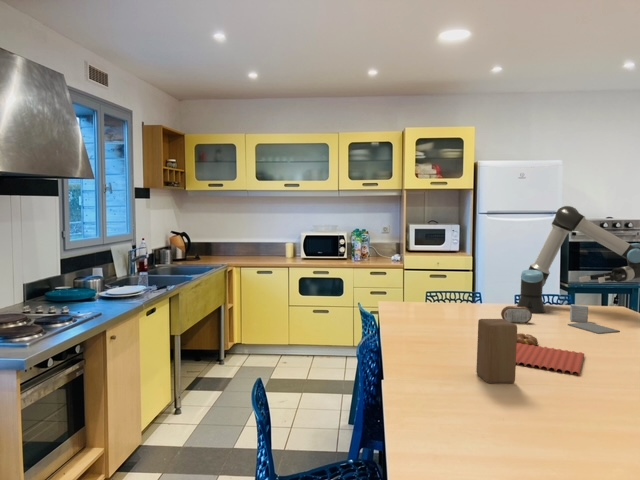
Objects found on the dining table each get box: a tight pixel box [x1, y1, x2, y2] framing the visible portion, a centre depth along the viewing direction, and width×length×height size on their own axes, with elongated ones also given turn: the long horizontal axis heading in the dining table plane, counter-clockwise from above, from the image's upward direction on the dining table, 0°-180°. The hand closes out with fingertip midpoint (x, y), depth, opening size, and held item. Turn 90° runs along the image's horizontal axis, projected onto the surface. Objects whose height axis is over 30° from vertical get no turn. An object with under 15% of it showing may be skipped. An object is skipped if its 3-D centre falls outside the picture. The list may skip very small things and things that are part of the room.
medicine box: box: [569, 304, 589, 323], centre depth 254 cm, size 8×4×9 cm, turn 71°
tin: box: [500, 305, 533, 324], centre depth 249 cm, size 15×3×8 cm, turn 84°
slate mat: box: [567, 321, 621, 334], centre depth 239 cm, size 18×14×1 cm
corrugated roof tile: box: [516, 343, 585, 376], centre depth 187 cm, size 28×28×2 cm
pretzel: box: [517, 332, 539, 346], centre depth 209 cm, size 12×11×4 cm
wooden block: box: [475, 318, 518, 384], centre depth 163 cm, size 10×10×20 cm
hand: (589, 280), depth 257 cm, fingers open, 13 cm apart
